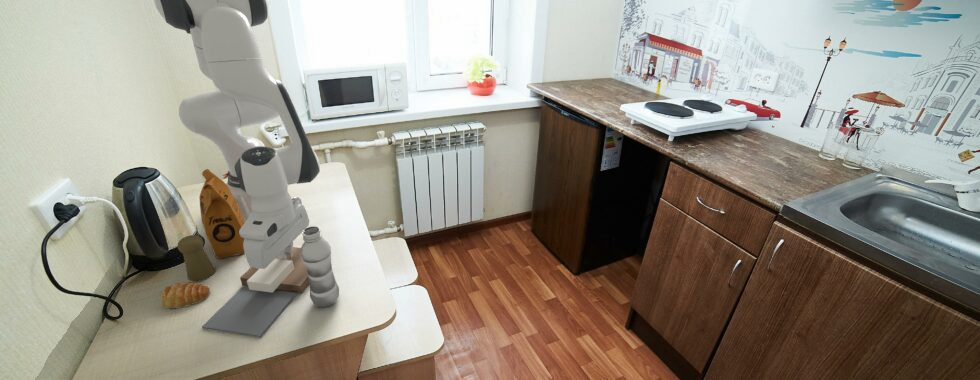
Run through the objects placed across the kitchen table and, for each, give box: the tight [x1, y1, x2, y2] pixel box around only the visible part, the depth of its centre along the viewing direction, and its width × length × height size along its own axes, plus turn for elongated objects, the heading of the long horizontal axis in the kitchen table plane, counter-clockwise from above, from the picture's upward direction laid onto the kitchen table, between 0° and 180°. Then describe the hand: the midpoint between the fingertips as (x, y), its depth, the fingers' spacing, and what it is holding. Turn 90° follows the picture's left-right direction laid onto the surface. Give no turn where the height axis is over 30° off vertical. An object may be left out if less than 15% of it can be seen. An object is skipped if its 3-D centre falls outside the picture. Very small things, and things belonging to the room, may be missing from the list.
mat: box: [201, 286, 298, 339], centre depth 95 cm, size 14×14×1 cm
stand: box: [239, 246, 310, 295], centre depth 107 cm, size 16×14×2 cm
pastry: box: [160, 281, 211, 310], centre depth 98 cm, size 9×7×4 cm
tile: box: [247, 259, 294, 293], centre depth 101 cm, size 6×9×2 cm, turn 171°
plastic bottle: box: [300, 225, 340, 308], centre depth 94 cm, size 6×7×20 cm
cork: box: [177, 234, 217, 283], centre depth 104 cm, size 6×6×11 cm
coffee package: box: [199, 168, 245, 260], centre depth 112 cm, size 10×12×22 cm
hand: (286, 260), depth 106 cm, fingers closed
